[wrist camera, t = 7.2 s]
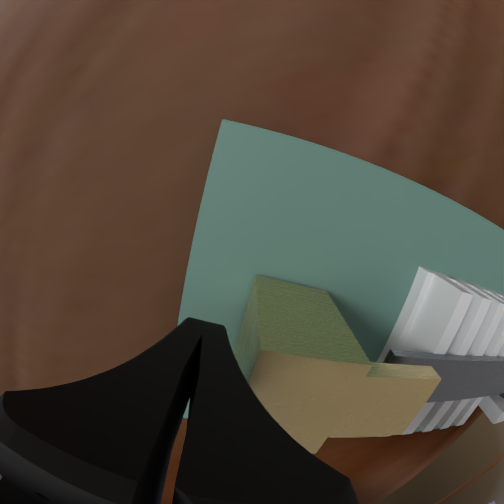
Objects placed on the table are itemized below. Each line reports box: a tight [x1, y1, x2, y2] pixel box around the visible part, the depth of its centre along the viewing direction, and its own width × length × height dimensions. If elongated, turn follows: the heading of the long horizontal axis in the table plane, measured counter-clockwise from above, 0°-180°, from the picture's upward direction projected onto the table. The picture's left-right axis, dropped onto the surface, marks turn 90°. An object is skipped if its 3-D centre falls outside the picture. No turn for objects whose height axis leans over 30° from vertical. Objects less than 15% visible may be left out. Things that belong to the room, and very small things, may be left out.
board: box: [177, 119, 504, 437], centre depth 11 cm, size 15×23×6 cm, turn 76°
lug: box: [234, 275, 441, 454], centre depth 9 cm, size 4×6×5 cm, turn 75°
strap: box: [383, 349, 504, 403], centre depth 10 cm, size 3×12×1 cm, turn 76°
